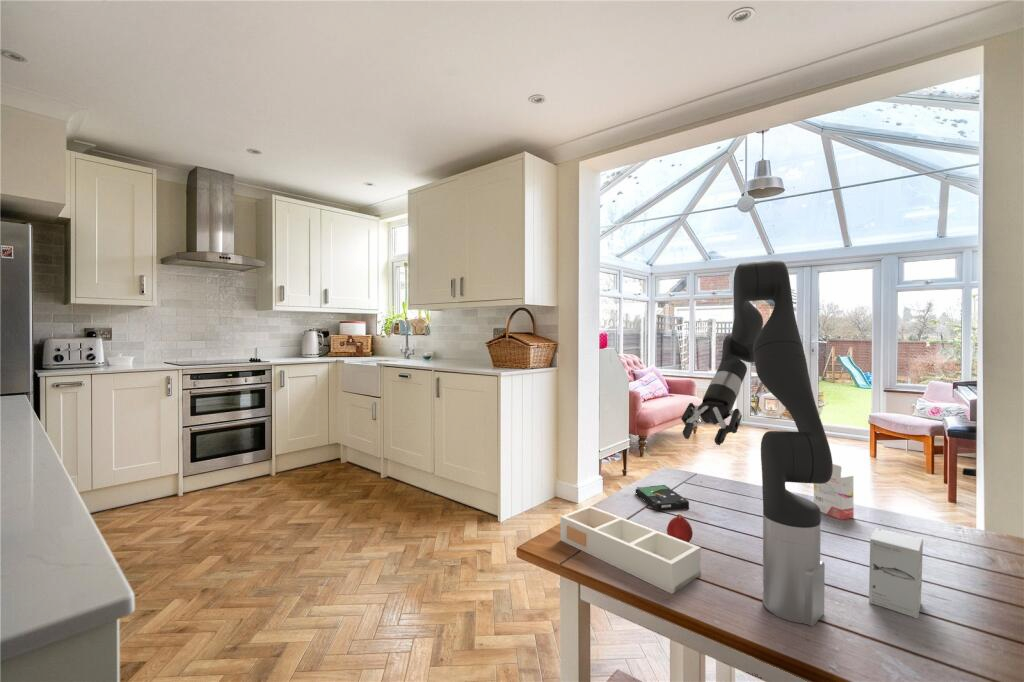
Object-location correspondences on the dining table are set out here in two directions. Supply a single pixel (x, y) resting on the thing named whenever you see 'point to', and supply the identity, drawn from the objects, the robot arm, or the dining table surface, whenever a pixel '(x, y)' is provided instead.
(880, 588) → the supplement box
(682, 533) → the onion
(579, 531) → the compartment tray
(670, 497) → the disk drive
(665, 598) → the dining table surface
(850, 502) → the ink cartridge box
